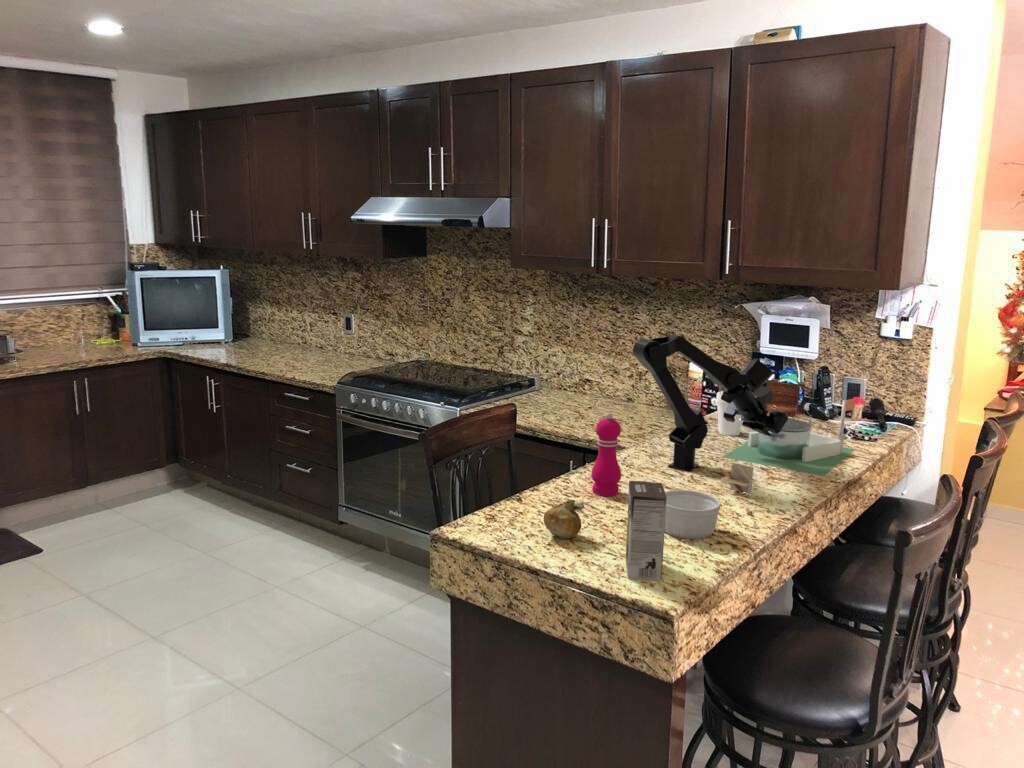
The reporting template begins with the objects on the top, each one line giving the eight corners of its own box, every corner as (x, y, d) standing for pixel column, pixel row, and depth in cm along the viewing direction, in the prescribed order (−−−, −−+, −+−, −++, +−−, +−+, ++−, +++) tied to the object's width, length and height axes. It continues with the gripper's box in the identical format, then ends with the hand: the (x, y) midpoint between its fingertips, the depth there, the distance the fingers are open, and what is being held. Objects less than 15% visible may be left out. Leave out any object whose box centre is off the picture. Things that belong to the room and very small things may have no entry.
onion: (550, 527, 170) (551, 491, 169) (586, 533, 167) (587, 497, 166) (537, 539, 163) (538, 502, 162) (574, 545, 160) (576, 508, 159)
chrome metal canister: (798, 463, 223) (801, 431, 221) (749, 453, 231) (752, 423, 230) (815, 452, 234) (818, 423, 232) (767, 444, 242) (770, 415, 241)
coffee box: (624, 559, 154) (628, 479, 151) (657, 561, 154) (662, 481, 151) (626, 579, 145) (631, 495, 142) (662, 581, 145) (667, 497, 142)
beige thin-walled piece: (804, 462, 224) (810, 406, 221) (747, 446, 240) (752, 394, 237) (850, 451, 236) (856, 399, 233) (793, 437, 252) (798, 387, 249)
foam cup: (747, 437, 251) (750, 397, 248) (718, 437, 251) (721, 396, 248) (739, 430, 260) (742, 391, 258) (711, 429, 260) (714, 390, 258)
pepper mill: (603, 485, 199) (606, 408, 195) (626, 492, 194) (630, 413, 190) (584, 491, 194) (587, 412, 190) (607, 499, 189) (611, 417, 185)
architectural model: (745, 499, 193) (747, 470, 191) (719, 493, 197) (721, 464, 196) (751, 496, 195) (754, 467, 194) (725, 490, 200) (728, 461, 198)
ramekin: (730, 539, 166) (732, 507, 165) (673, 544, 162) (675, 512, 161) (698, 517, 179) (700, 487, 177) (645, 522, 175) (646, 491, 174)
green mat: (824, 476, 211) (824, 476, 211) (721, 457, 227) (721, 456, 227) (855, 449, 239) (855, 449, 239) (761, 434, 255) (761, 433, 255)
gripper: (787, 383, 214) (808, 418, 222) (732, 373, 229) (755, 406, 238) (765, 415, 211) (788, 449, 220) (712, 402, 226) (735, 435, 235)
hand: (766, 433), depth 228 cm, fingers closed
